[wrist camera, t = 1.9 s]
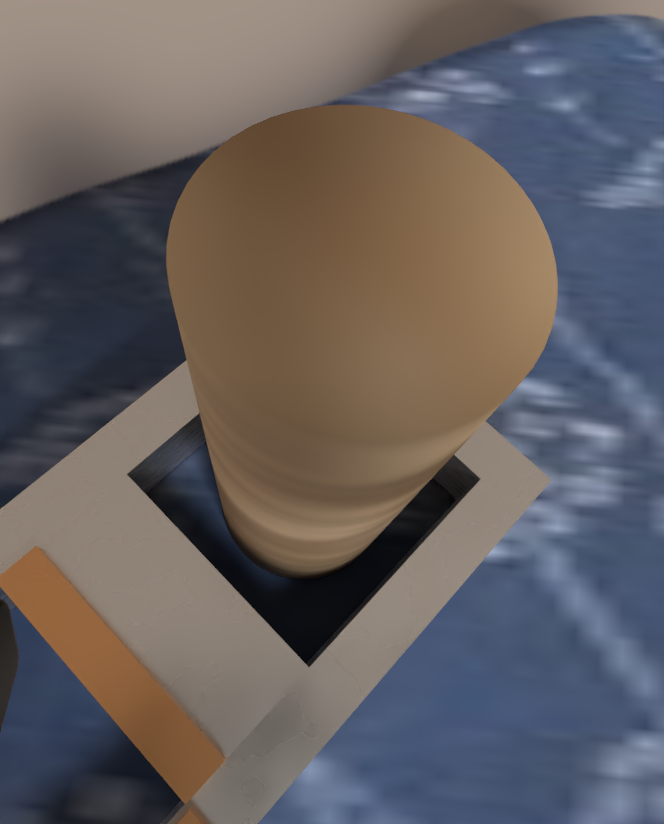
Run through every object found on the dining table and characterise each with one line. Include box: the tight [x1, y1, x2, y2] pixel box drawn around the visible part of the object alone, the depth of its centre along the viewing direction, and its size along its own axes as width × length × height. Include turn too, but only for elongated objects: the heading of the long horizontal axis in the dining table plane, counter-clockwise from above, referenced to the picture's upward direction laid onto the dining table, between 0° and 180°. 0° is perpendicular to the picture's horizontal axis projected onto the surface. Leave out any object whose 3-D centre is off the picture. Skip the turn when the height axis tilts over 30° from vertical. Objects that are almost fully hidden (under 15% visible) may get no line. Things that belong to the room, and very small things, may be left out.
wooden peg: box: [166, 105, 558, 579], centre depth 14 cm, size 5×5×13 cm
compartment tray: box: [0, 360, 551, 824], centre depth 17 cm, size 21×10×3 cm, turn 136°
